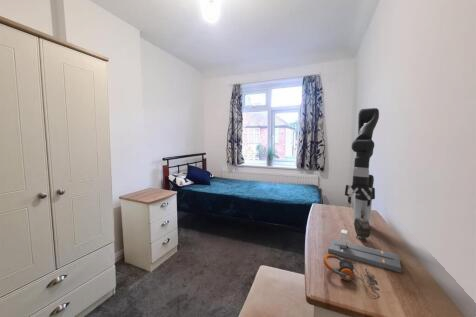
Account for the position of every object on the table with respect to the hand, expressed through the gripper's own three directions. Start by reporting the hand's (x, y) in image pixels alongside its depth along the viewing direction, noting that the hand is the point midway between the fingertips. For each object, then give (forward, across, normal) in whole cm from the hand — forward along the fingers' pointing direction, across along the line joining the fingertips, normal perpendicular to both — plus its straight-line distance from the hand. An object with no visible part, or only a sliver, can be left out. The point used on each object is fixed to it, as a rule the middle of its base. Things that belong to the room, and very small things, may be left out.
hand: (358, 205), depth 114 cm
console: (+20, -3, +18) cm, 27 cm away
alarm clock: (+19, -2, -2) cm, 19 cm away
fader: (+18, +5, +18) cm, 26 cm away
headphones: (+23, +1, +38) cm, 44 cm away
